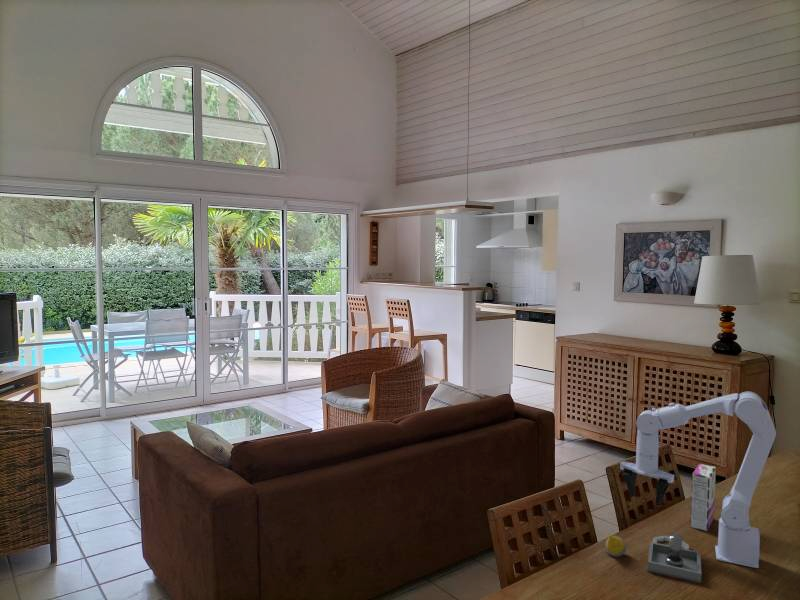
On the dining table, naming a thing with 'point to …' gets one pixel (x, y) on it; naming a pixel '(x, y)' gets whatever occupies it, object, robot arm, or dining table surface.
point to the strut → (674, 551)
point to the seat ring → (666, 538)
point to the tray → (687, 572)
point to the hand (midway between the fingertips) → (645, 500)
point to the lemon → (615, 546)
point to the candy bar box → (703, 497)
